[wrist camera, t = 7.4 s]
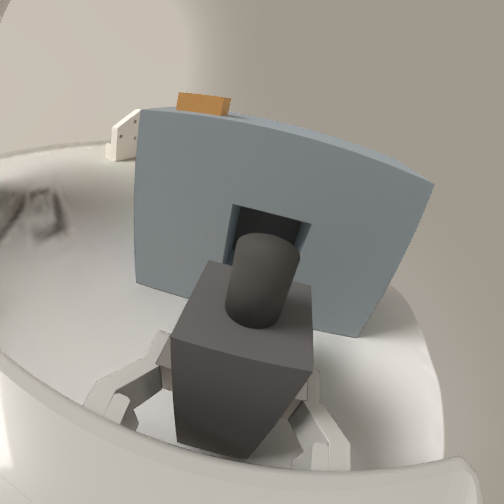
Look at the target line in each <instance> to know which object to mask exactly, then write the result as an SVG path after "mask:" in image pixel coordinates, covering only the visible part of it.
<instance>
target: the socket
mask: <svg viewBox="0 0 504 504" xmlns="http://www.w3.org/2000/svg"><path fill="white" fill-rule="evenodd" d="M230 101H231V98H224V97H217V96H210V95H201V94H192V93H180V92H179V95H178V101H177V107H163V108H151V109H141V111H140V119H139V128H138V138H137V150H136V164H135V184H134V251H135V271H136V283H139V284H143V285H146V286H149V287H152V288H155V289H158V290H162V291H165V292H168V293H171V294H175V295H178V296H181V297H185V298H188V299H189V298H190V296H191V294H192V292H193V290H194V288H195V286H196V284H197V282H198V280H199V278H200V276H201V274H202V272H203V270H204V268H205V266H206V265H207V263H208V261H209V260H211V261H215V262H219V263H223V264H227V265H230V266H232V264H233V259H234V254H235V249H236V244H237V241H238V239H239V238H240V237H242V236H244V235H246V234H250V233H265V234H270V235H274V236H277V237H280V238H282V239H284V240H286V241H288V242H289V243H291V244H292V245H293V246H295V247H296V249H297V250H298V251H299V253H300V262H299V264H298V267H297V270H296V273H295V276H294V279H293V281H294V282H299V283H303V284H307V285H311V295H312V321H313V329H314V330H318V331H323V332H328V333H334V334H339V335H344V336H350V337H355V338H357V336H358V335H359V333H360V332H361V330H362V328H363V327H364V325H365V324H366V322H367V321H368V319H369V317H370V316H371V314H372V312H373V311H374V309H375V307H376V306H377V304H378V302H379V301H380V299H381V297H382V295H383V294H384V292H385V290H386V288H387V287H388V285H389V283H390V281H391V279H392V277H393V276H394V273H395V272H396V270H397V268H398V266H399V264H400V262H401V260H402V258H403V256H404V254H405V252H406V250H407V248H408V246H409V244H410V242H411V239H412V237H413V235H414V233H415V231H416V229H417V226H418V224H419V222H420V219H421V217H422V215H423V213H424V210H425V208H426V205H427V203H428V200H429V198H430V195H431V193H432V190H433V187H434V184H433V183H432V182H431V181H429V180H427V179H426V178H425V177H423V176H422V175H420V174H418V173H417V172H415V171H414V170H412V169H410V168H409V167H407V166H406V165H404V164H402V163H401V162H399V161H398V160H396V159H394V158H392V157H390V156H387V155H384V154H382V153H379V152H377V151H374V150H371V149H369V148H366V147H363V146H360V145H357V144H354V143H351V142H348V141H345V140H342V139H339V138H336V137H333V136H330V135H326V134H323V133H319V132H316V131H313V130H309V129H305V128H301V127H298V126H294V125H290V124H286V123H281V122H277V121H273V120H269V119H264V118H259V117H254V116H249V115H244V114H238V113H233V112H228V111H229V106H230Z"/></svg>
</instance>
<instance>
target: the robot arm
mask: <svg viewBox="0 0 504 504" xmlns="http://www.w3.org/2000/svg"><path fill="white" fill-rule="evenodd" d="M9 2H10V0H0V22H1V19H2V17H3V14H4V12H5V10H6V8H7V6H8V4H9ZM170 336H171V334H169V333H166V332H163V331H159V332H158V333H157V334H156V336H155V338H154V340H153V342H152V344H151V346H150V348H149V349H148V351H147V353H146V355H145V357H144V359H138V360H136V361H135V362H133V363H131V364H129V365H127V366H125V367H123V368H121V369H119V370H118V371H116V372H114V373H112V374H110V375H108V376H106V377H104V378H102V379H100V380H98V381H96V383H95V384H94V386H93V388H92V390H91V391H90V393H89V395H88V397H87V399H86V400H85V402H84V404H83V406H81V405H80V404H78V403H76V402H74V401H73V400H71V399H69V398H67V397H66V396H64V395H62V394H61V393H59V392H58V391H56V390H54V389H53V388H51V387H50V386H48V385H47V384H45V383H44V382H42V381H41V380H39V379H38V378H36V377H35V376H33V375H32V374H31V373H29V372H28V371H26V370H25V369H24V368H22V367H21V366H20V365H18V364H17V363H16V362H15V361H13V360H12V359H11V358H10V357H8V356H7V355H6V354H5V353H4V352H2V351H1V350H0V504H484V503H483V494H482V488H481V483H480V479H479V476H478V474H477V472H476V471H475V469H474V468H473V467H472V466H471V465H470V464H469V463H468V462H467V461H466V460H465V459H464V458H463V457H461V456H454V457H450V458H446V459H442V460H437V461H433V462H428V463H422V464H417V465H410V466H404V467H396V468H387V469H376V470H361V471H351V454H350V443H349V441H348V440H347V438H346V437H345V435H344V434H343V432H342V431H341V429H340V428H339V426H338V425H337V424H336V422H335V421H334V419H333V418H332V416H331V415H330V413H329V412H328V410H327V409H326V407H325V406H324V404H323V403H320V382H319V370H317V369H313V373H312V374H311V376H310V377H309V379H308V380H307V382H306V383H305V384H304V386H303V387H302V389H301V390H300V392H299V393H298V394H297V396H296V397H295V399H294V400H293V401H292V403H291V404H290V406H289V407H288V408H287V410H286V411H285V412H284V414H283V415H282V416H281V418H285V419H288V421H289V423H290V425H291V427H292V429H293V431H294V433H295V435H296V437H297V439H298V441H299V443H300V445H301V447H302V449H303V451H304V452H303V453H302V454H300V455H299V456H297V457H296V458H295V459H293V460H292V466H291V469H285V468H276V467H268V466H261V465H254V464H248V463H243V462H237V461H232V460H228V459H223V458H218V457H214V456H210V455H206V454H202V453H198V452H195V451H191V450H188V449H184V448H181V447H178V446H175V445H172V444H169V443H166V442H163V441H160V440H157V439H154V438H152V437H149V436H146V435H144V434H141V433H139V432H136V429H137V426H138V424H139V422H138V420H137V417H136V415H135V412H134V410H133V409H135V408H136V407H138V406H139V405H141V404H142V403H143V402H145V401H146V400H148V399H149V398H150V397H152V396H153V395H155V394H156V393H157V392H159V391H160V390H161V389H162V388H163V389H167V390H170V391H173V390H172V373H171V349H170Z"/></svg>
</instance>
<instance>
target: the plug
mask: <svg viewBox="0 0 504 504" xmlns="http://www.w3.org/2000/svg"><path fill="white" fill-rule="evenodd" d="M299 262H300V253H299V251H298V250H297V249H296V247H295V246H293V245H292V244H291V243H289V242H288V241H286V240H284V239H282V238H280V237H277V236H274V235H270V234H265V233H250V234H246V235H244V236H242V237H240V238H239V239H238V241H237V244H236V249H235V254H234V259H233V264H232V266H230V265H227V264H223V263H219V262H215V261H211V260H209V261H208V263H207V265H206V266H205V268H204V270H203V272H202V274H201V276H200V278H199V280H198V282H197V284H196V286H195V288H194V290H193V292H192V294H191V296H190V298H189V300H188V302H187V304H186V306H185V308H184V310H183V312H182V314H181V316H180V318H179V320H178V322H177V324H176V326H175V328H174V330H173V332H172V334H171V336H170V349H171V373H172V390H173V404H174V416H175V426H176V436H177V442H179V443H182V444H186V445H189V446H193V447H196V448H200V449H204V450H207V451H211V452H215V453H220V454H224V455H229V456H234V457H239V458H244V459H247V458H248V457H249V456H250V454H251V453H252V452H253V451H254V450H255V449H256V447H257V446H258V445H259V444H260V443H261V441H262V440H263V439H264V438H265V437H266V435H267V434H268V433H269V432H270V430H271V429H272V428H273V427H274V425H275V424H276V423H277V421H278V420H279V419H280V418H281V416H282V415H283V414H284V412H285V411H286V410H287V408H288V407H289V406H290V404H291V403H292V401H293V400H294V399H295V397H296V396H297V394H298V393H299V392H300V390H301V389H302V387H303V386H304V384H305V383H306V382H307V380H308V379H309V377H310V376H311V374H312V373H313V321H312V295H311V285H307V284H303V283H299V282H294V281H293V279H294V276H295V273H296V270H297V267H298V264H299Z"/></svg>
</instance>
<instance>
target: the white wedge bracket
mask: <svg viewBox="0 0 504 504" xmlns="http://www.w3.org/2000/svg"><path fill="white" fill-rule="evenodd" d="M140 111H141V109H136V110H134V111H133V112H132V113H130V114H129V115H127V116H126V117H125V118H124V119H122V120H121V121H120V122H118V123H117V124H116V125H114V126H113V127H112V139H111V143H107V144H106V159H109V160H112V161H115V162H116V161H120V160H125V159H129V158H134V157H136V150H137V138H138V128H139V119H140Z"/></svg>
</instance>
